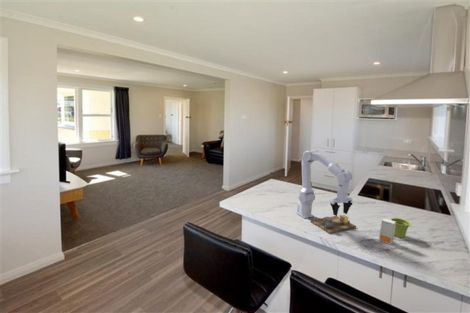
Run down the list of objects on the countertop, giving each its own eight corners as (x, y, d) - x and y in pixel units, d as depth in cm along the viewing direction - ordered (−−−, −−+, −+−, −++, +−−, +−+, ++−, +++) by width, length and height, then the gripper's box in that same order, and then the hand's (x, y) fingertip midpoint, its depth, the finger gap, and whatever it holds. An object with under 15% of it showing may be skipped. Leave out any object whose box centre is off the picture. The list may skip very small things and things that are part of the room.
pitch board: (310, 222, 162) (311, 212, 161) (336, 217, 170) (337, 207, 169) (329, 233, 148) (330, 222, 146) (356, 227, 156) (357, 217, 155)
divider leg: (337, 221, 161) (338, 214, 160) (341, 220, 162) (341, 213, 161) (344, 224, 156) (344, 217, 155) (347, 224, 157) (348, 217, 156)
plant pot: (407, 234, 149) (409, 220, 148) (408, 241, 141) (410, 226, 140) (388, 230, 154) (390, 216, 152) (388, 236, 146) (390, 222, 144)
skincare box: (378, 240, 141) (381, 220, 139) (381, 238, 144) (383, 217, 142) (391, 244, 137) (394, 223, 135) (393, 242, 140) (396, 221, 138)
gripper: (338, 195, 142) (335, 218, 144) (357, 192, 147) (354, 215, 150) (328, 191, 148) (326, 213, 151) (348, 189, 154) (345, 210, 156)
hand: (340, 214), depth 151 cm, fingers open, 7 cm apart
